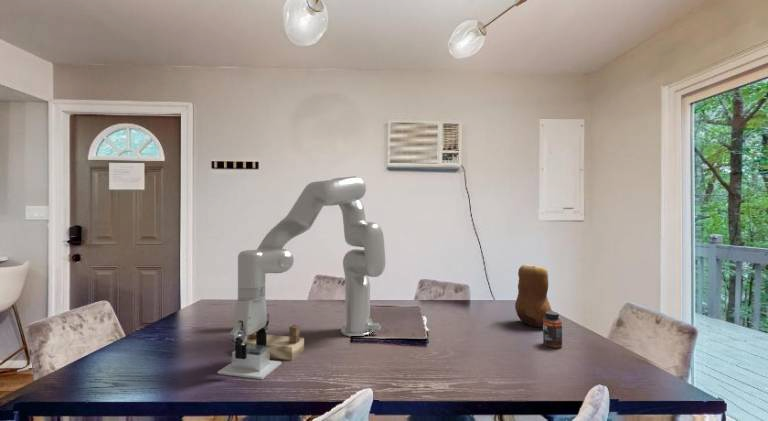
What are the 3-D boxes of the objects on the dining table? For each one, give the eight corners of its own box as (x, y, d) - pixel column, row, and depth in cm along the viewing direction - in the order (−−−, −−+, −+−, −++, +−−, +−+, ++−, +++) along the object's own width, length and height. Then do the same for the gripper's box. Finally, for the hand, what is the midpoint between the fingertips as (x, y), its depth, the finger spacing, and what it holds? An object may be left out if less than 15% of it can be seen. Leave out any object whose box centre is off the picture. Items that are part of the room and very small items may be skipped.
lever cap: (269, 364, 99) (269, 344, 99) (259, 371, 94) (260, 351, 94) (242, 361, 101) (243, 342, 101) (231, 368, 96) (232, 348, 96)
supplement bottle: (564, 345, 116) (564, 312, 116) (559, 350, 111) (559, 316, 112) (546, 340, 120) (546, 309, 120) (540, 345, 116) (540, 312, 116)
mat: (281, 363, 100) (281, 361, 100) (261, 379, 91) (261, 377, 91) (240, 358, 103) (240, 357, 103) (217, 373, 94) (217, 371, 94)
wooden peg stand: (303, 350, 111) (304, 322, 111) (292, 360, 103) (292, 330, 103) (255, 345, 115) (256, 318, 115) (240, 354, 107) (241, 326, 107)
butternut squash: (553, 323, 140) (553, 263, 140) (549, 332, 128) (549, 267, 129) (518, 318, 147) (518, 261, 147) (511, 326, 136) (511, 264, 136)
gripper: (257, 285, 107) (257, 339, 107) (219, 299, 90) (219, 363, 90) (278, 286, 105) (278, 341, 105) (244, 300, 88) (244, 365, 88)
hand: (251, 351), depth 97 cm, fingers open, 9 cm apart
